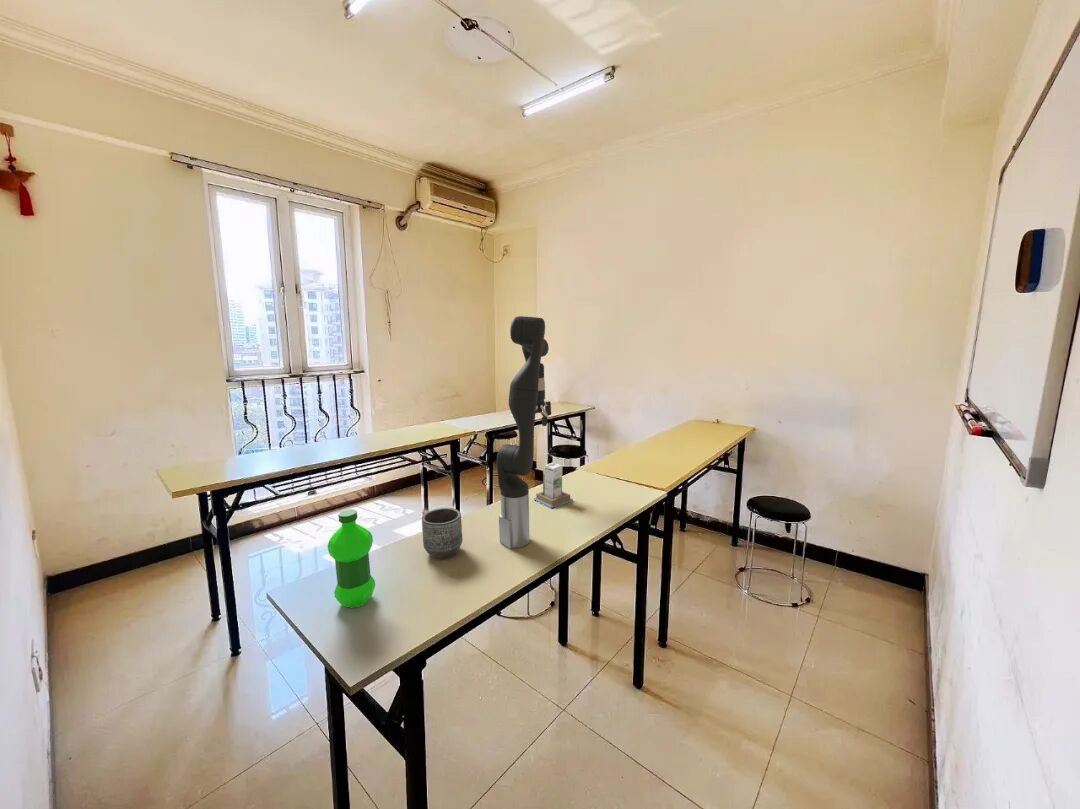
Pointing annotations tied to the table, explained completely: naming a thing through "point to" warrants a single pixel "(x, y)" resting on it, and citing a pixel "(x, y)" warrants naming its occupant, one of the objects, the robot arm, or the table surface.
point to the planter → (442, 532)
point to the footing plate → (553, 502)
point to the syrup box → (552, 480)
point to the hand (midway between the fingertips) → (536, 427)
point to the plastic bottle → (352, 561)
